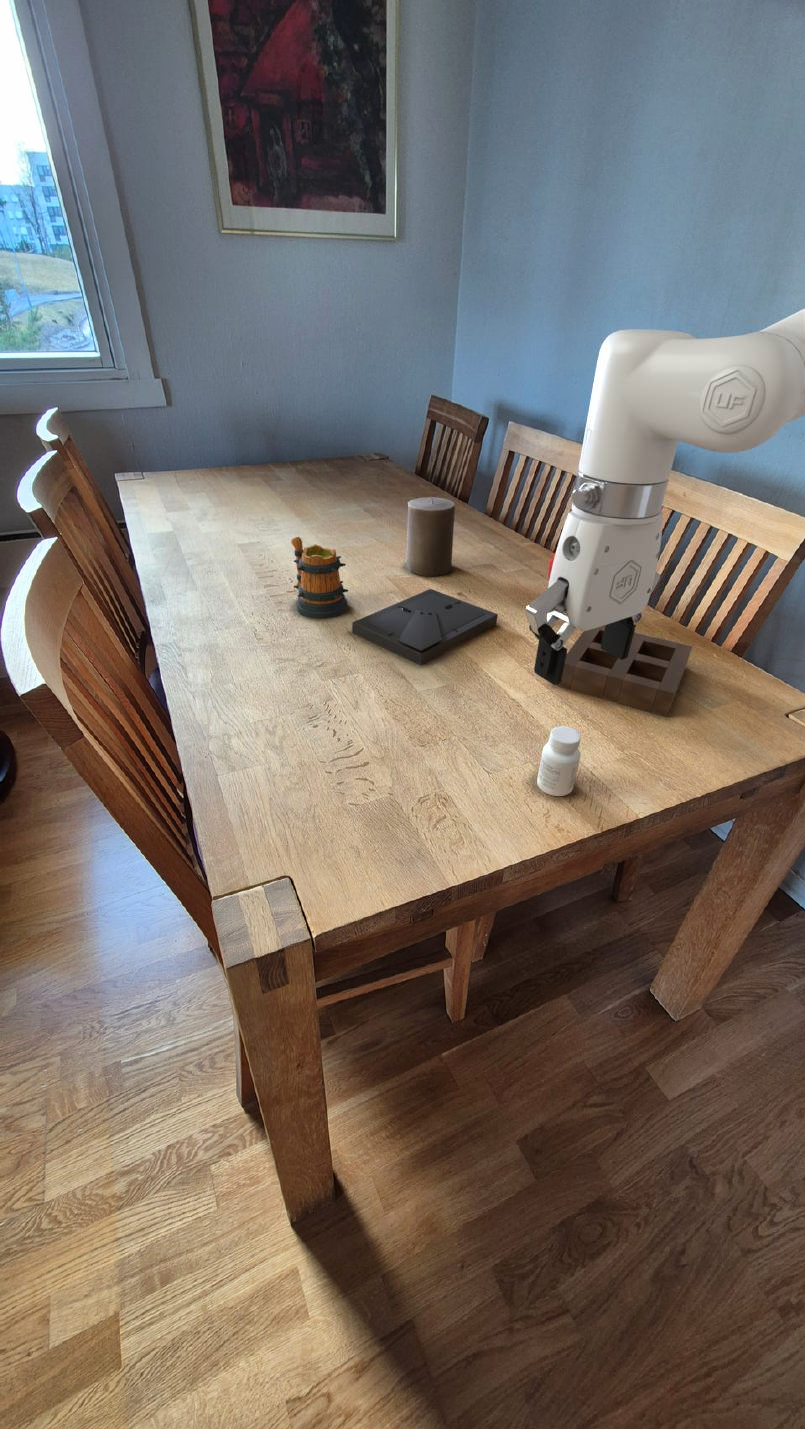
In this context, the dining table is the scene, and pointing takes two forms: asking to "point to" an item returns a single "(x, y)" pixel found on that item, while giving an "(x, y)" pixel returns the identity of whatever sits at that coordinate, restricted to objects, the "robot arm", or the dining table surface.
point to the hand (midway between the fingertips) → (581, 665)
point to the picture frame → (424, 625)
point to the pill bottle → (559, 761)
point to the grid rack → (627, 671)
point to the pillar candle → (430, 536)
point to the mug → (318, 581)
